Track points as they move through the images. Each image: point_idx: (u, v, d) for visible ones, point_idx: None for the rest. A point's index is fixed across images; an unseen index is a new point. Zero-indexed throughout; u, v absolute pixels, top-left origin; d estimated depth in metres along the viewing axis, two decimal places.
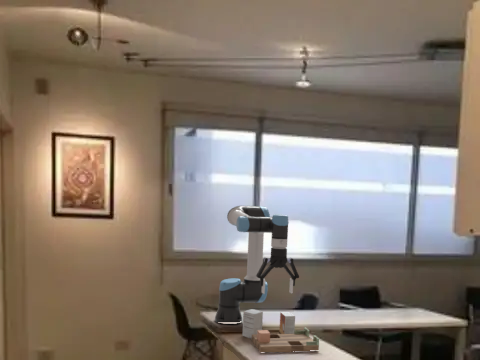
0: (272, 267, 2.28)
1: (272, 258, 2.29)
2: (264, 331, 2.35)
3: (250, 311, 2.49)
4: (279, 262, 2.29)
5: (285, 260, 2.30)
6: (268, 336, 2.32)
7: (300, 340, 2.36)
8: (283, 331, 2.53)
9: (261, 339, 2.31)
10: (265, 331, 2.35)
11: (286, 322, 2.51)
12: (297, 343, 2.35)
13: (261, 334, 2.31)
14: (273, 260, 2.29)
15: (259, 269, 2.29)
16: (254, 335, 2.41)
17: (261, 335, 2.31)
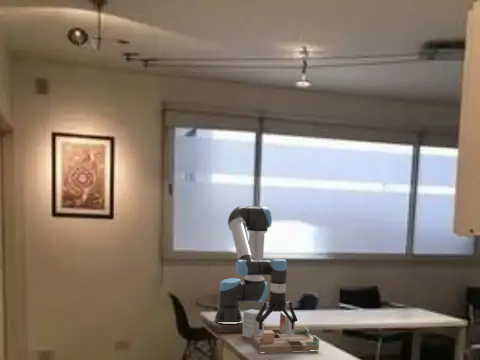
0: (271, 311, 2.33)
1: (271, 302, 2.34)
2: (269, 331, 2.35)
3: (250, 311, 2.49)
4: (278, 306, 2.34)
5: (284, 304, 2.35)
6: (272, 336, 2.32)
7: (300, 340, 2.36)
8: (283, 331, 2.53)
9: (265, 339, 2.32)
10: (269, 331, 2.35)
11: (286, 322, 2.51)
12: (297, 343, 2.35)
13: (265, 334, 2.32)
14: (272, 304, 2.34)
15: (258, 313, 2.35)
16: (254, 335, 2.41)
17: (265, 335, 2.32)
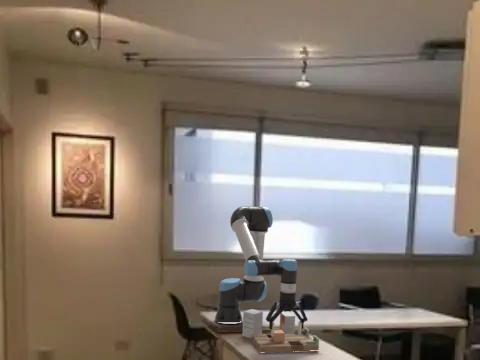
0: (281, 311, 2.34)
1: (281, 302, 2.35)
2: (279, 331, 2.36)
3: (250, 311, 2.49)
4: (288, 306, 2.35)
5: (294, 304, 2.36)
6: (283, 336, 2.33)
7: (300, 340, 2.36)
8: (283, 331, 2.53)
9: (276, 339, 2.33)
10: (280, 331, 2.36)
11: (286, 322, 2.51)
12: (297, 343, 2.35)
13: (276, 334, 2.33)
14: (282, 304, 2.35)
15: None
16: (254, 335, 2.41)
17: (276, 335, 2.33)
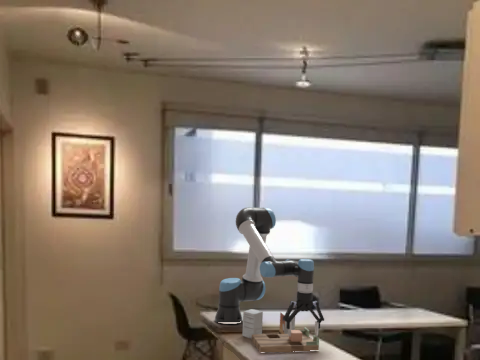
0: (298, 311, 2.36)
1: (298, 302, 2.37)
2: (296, 331, 2.37)
3: (250, 311, 2.49)
4: (305, 306, 2.37)
5: (311, 304, 2.38)
6: (300, 336, 2.35)
7: None
8: (283, 331, 2.53)
9: (293, 339, 2.34)
10: (297, 331, 2.37)
11: (286, 322, 2.51)
12: (297, 343, 2.35)
13: (293, 334, 2.34)
14: (299, 304, 2.37)
15: (286, 312, 2.38)
16: (254, 335, 2.41)
17: (293, 335, 2.34)
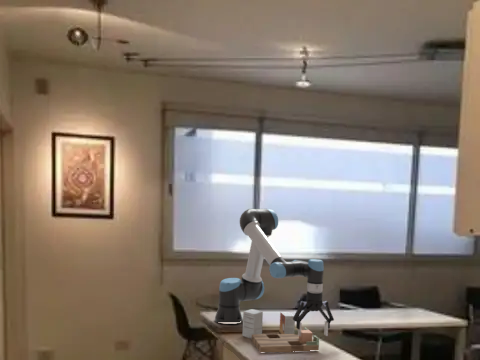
0: (308, 311, 2.37)
1: (308, 302, 2.38)
2: (306, 331, 2.38)
3: (250, 311, 2.49)
4: (315, 306, 2.38)
5: (320, 304, 2.39)
6: (310, 336, 2.36)
7: (300, 340, 2.36)
8: (283, 331, 2.53)
9: (304, 339, 2.35)
10: (307, 331, 2.38)
11: (286, 322, 2.51)
12: (297, 343, 2.35)
13: (304, 334, 2.35)
14: (309, 304, 2.38)
15: None
16: (254, 335, 2.41)
17: (304, 335, 2.35)
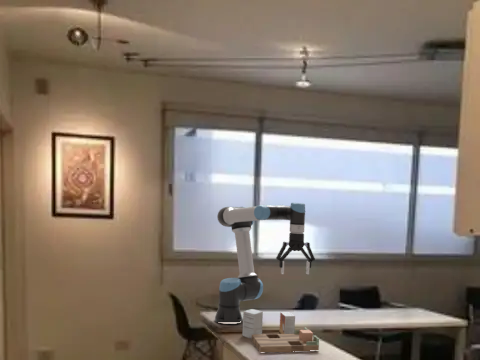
0: (290, 250, 2.51)
1: (290, 242, 2.52)
2: (307, 331, 2.38)
3: (250, 311, 2.49)
4: (297, 246, 2.52)
5: (302, 244, 2.53)
6: (311, 336, 2.36)
7: (300, 340, 2.36)
8: (283, 331, 2.53)
9: (304, 339, 2.35)
10: (307, 331, 2.38)
11: (286, 322, 2.51)
12: (297, 343, 2.35)
13: (304, 334, 2.35)
14: (291, 244, 2.52)
15: (279, 252, 2.53)
16: (254, 335, 2.41)
17: (304, 335, 2.35)
